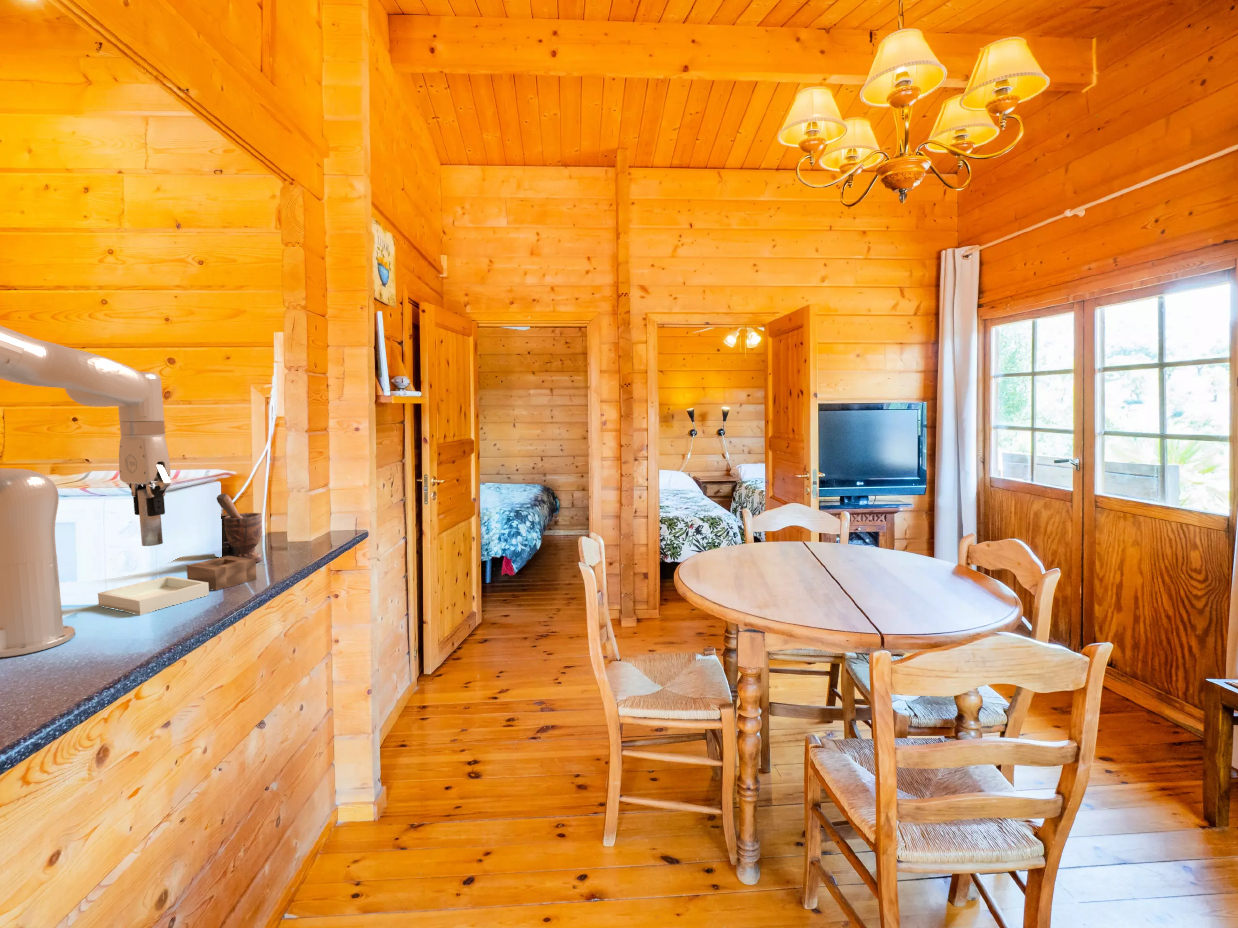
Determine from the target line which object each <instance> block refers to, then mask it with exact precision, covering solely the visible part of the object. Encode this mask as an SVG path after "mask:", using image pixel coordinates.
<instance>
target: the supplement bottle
mask: <svg viewBox="0 0 1238 928" xmlns="http://www.w3.org/2000/svg"><path fill="white" fill-rule="evenodd" d="M220 514H221V519H222V557H225V556H234V555H235V554H236V549H235V548H234V547H232V546H231V545H230V544H229V541H228V539H227V536H226V532H225V524H224V523H225V520H224V518H225V517H226V516H229V515H228V513H227V512H224V513H220Z"/></svg>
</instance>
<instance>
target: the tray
mask: <svg viewBox="0 0 1238 928" xmlns="http://www.w3.org/2000/svg"><path fill="white" fill-rule="evenodd" d="M207 595H209V596H210V590H209V585H208V582H202V581H196V580H189V579H187V578H182V577H176V576H171V575H168V576H167V575H166V576H163V577H159V578H154V579H151V580H146V581H143V582H139V583H135V584H129V585H126V586H122V587H118V588H114V589H109V590H105V591H102V592H101V591H100V592H98V593H97V599H98V607H99V606H104V607H108V608H114V609H118V610H123V611H126V612H131V613H135V614H134V615H136V614H139V615H138V616H143V615H146V614H145V613H147V614H149V613H148V612H150V613H153V612H152V611H154V612H156V611H155V610H157V611H159V610H158V609H161V608H164V609H166V608H165V607H168V606H171V607H173V606H172V605H175V606H177V605H176V604H178V605H181V604H180V603H182V604H184V603H183V602H185V603H187V602H186V601H188V602H190V601H189V600H192V601H194V600H193V599H195V600H197V599H196V598H199V599H201V598H200V597H202V598H205V597H204V596H206V597H208V596H207ZM168 608H169V607H168ZM161 610H162V609H161ZM126 612H125V613H126ZM131 613H130V614H131ZM142 614H143V615H142Z"/></svg>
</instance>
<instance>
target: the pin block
mask: <svg viewBox="0 0 1238 928" xmlns="http://www.w3.org/2000/svg"><path fill="white" fill-rule="evenodd" d="M186 576H187V577H186V579H189V580H196V581H202V582H208V585H209V589H213V590H212V591H215V590H217V591H220V590H219V589H221V590H223V588H224V589H227V587H228V588H231V587H234V586H238V585H241V584H244V583H248V582H252V581H255V580H257V565H256V561H255V559H248V558H241V557H233V556H225V557H220V558H218V557H215V558H213V559H208V560H203V561H199V562H195V563H192V564H187V565H186Z"/></svg>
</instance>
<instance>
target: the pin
mask: <svg viewBox="0 0 1238 928" xmlns="http://www.w3.org/2000/svg"><path fill="white" fill-rule="evenodd" d="M137 492H138V504H139V515H138V516H139V526H140V527H139V528H140V536H141V537H140V538H141V546H142V547H152V546H159V545H162V544H164V539H163V527H162V526H163V525H162V518H161V517H162V515H157V516H148V515H147V504H146V498H149V497H148V492H147V489H141V490H137Z"/></svg>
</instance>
